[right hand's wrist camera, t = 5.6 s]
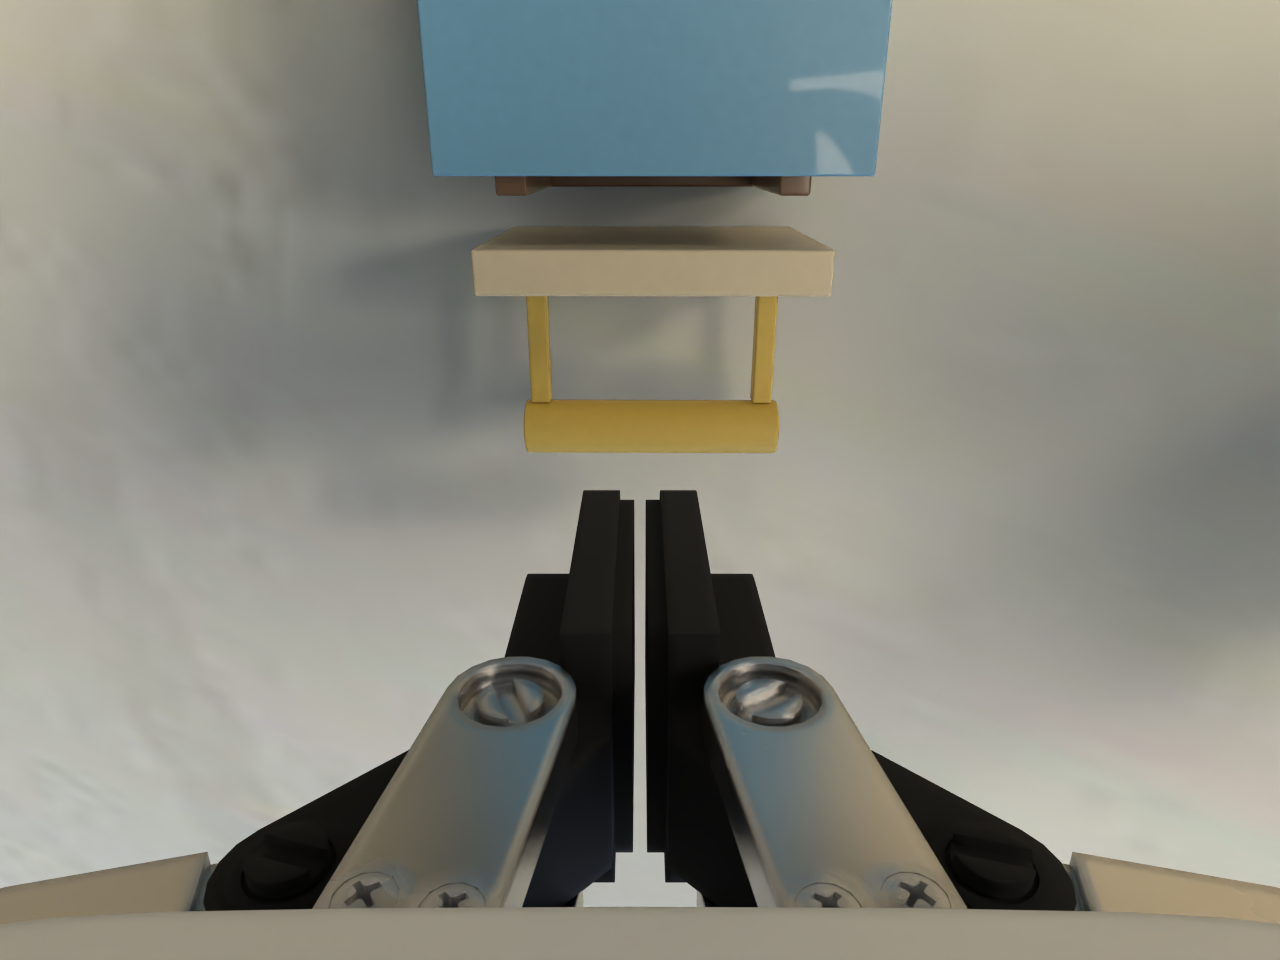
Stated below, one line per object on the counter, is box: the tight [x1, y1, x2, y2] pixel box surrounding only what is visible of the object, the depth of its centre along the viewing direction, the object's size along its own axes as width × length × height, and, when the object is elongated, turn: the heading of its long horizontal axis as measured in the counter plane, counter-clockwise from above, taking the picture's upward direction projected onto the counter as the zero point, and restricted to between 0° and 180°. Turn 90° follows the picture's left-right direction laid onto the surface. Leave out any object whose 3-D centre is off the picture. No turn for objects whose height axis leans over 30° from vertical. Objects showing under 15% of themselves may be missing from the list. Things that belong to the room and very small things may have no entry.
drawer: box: [471, 176, 835, 453], centre depth 23 cm, size 23×9×7 cm, turn 0°
